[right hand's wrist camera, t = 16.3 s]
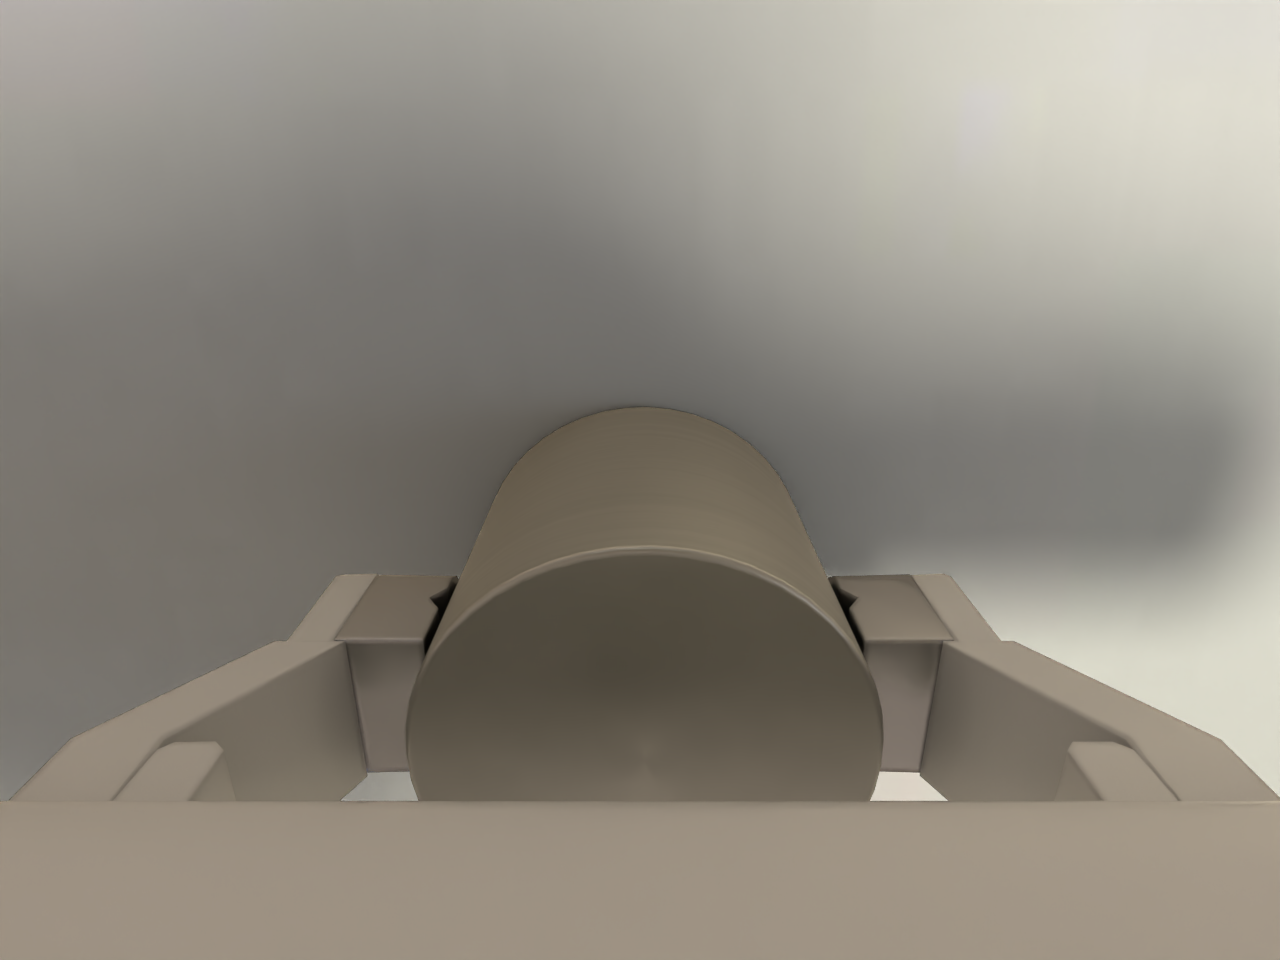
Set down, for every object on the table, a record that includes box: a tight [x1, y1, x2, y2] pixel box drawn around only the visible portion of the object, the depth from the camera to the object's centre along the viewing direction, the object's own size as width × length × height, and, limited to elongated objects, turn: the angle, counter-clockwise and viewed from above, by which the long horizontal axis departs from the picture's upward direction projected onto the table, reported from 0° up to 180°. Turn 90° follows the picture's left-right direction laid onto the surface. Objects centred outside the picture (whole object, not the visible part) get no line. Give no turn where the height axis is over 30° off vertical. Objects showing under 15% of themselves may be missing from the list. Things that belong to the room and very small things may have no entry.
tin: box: [405, 407, 884, 801], centre depth 10 cm, size 5×5×4 cm
